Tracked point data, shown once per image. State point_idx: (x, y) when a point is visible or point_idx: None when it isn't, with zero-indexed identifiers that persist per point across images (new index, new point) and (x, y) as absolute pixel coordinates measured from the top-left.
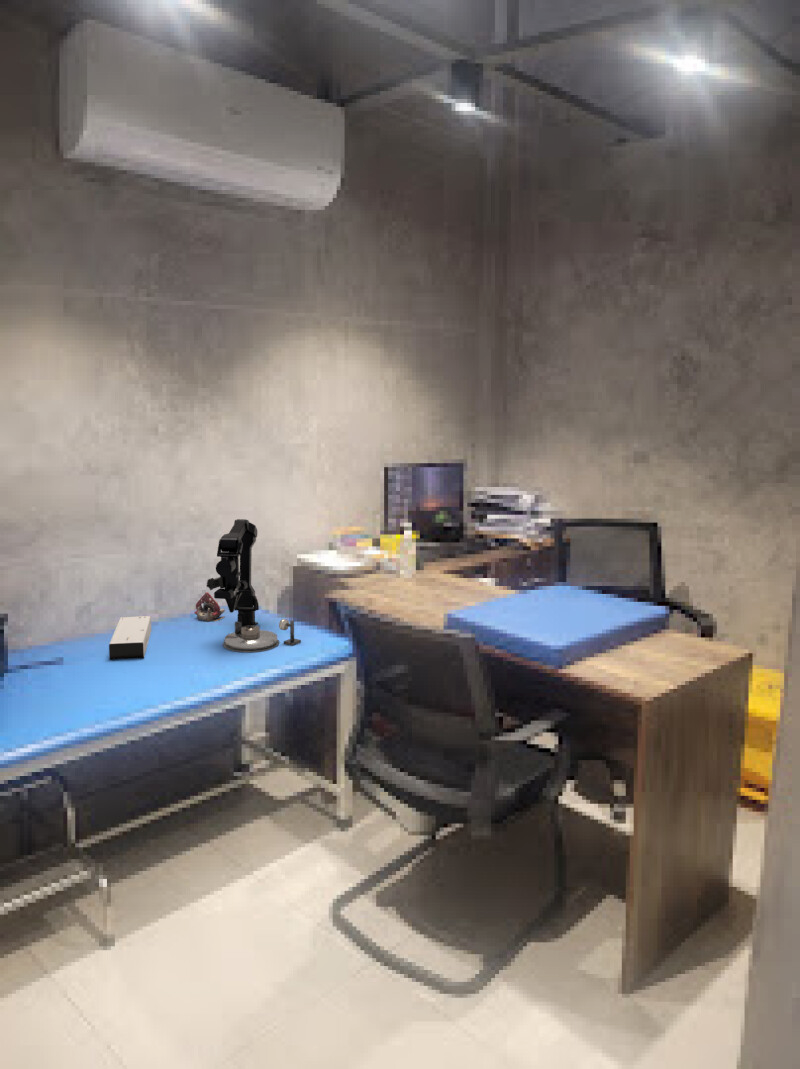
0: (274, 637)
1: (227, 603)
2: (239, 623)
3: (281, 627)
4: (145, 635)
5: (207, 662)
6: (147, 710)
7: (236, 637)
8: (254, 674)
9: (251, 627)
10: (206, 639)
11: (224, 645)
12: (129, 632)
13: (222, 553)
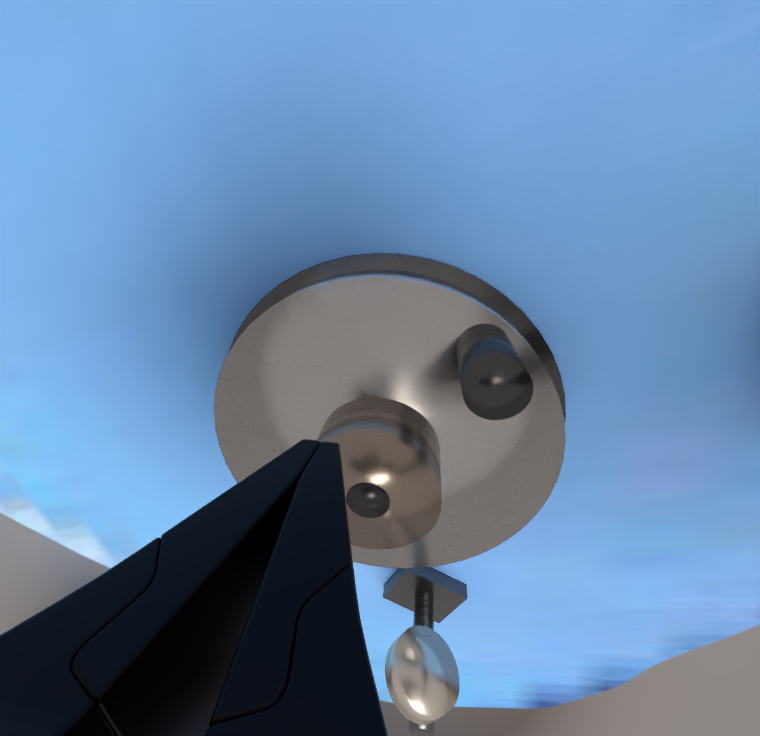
0: (397, 557)
1: (137, 564)
2: (469, 406)
3: (390, 650)
4: None
5: (4, 276)
6: None
7: (354, 366)
8: (17, 501)
9: (364, 508)
10: (449, 45)
11: (297, 284)
12: None
13: None
